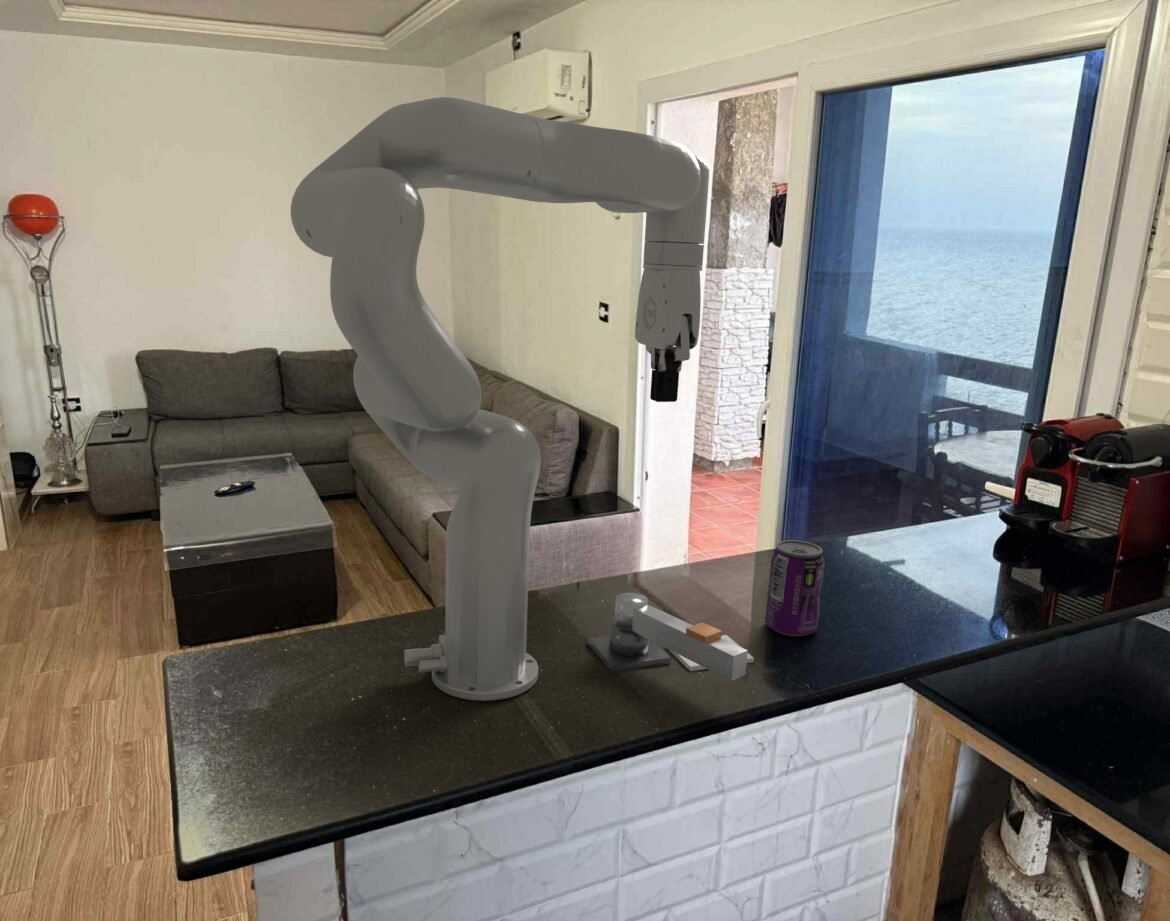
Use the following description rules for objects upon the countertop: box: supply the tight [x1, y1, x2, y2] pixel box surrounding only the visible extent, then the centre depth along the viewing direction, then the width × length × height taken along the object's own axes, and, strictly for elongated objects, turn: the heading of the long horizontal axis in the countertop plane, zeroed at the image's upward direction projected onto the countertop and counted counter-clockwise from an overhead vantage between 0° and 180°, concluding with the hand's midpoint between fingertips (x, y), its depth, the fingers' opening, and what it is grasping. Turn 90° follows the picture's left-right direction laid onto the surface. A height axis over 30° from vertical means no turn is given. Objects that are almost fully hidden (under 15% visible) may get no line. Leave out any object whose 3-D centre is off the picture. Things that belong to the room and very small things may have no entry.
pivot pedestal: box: [587, 622, 671, 673], centre depth 110 cm, size 8×8×4 cm
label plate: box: [667, 634, 755, 672], centre depth 111 cm, size 9×7×1 cm
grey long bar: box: [613, 592, 749, 682], centre depth 103 cm, size 20×4×4 cm, turn 41°
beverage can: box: [764, 539, 826, 638], centre depth 119 cm, size 7×7×12 cm
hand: (663, 400), depth 114 cm, fingers closed
